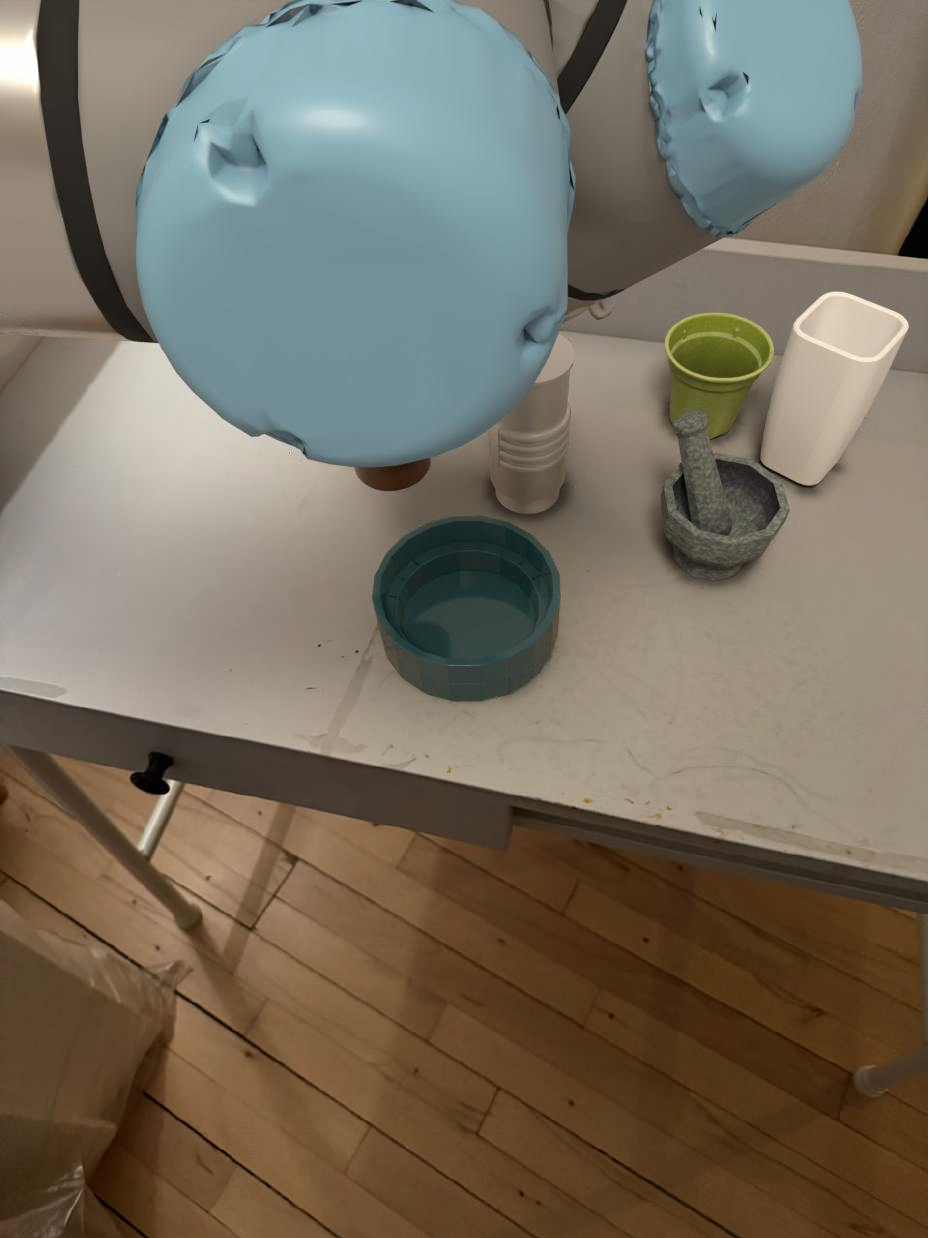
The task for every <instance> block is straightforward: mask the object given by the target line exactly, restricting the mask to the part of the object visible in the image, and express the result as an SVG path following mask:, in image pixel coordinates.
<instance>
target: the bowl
mask: <svg viewBox="0 0 928 1238" xmlns="http://www.w3.org/2000/svg"><path fill="white" fill-rule="evenodd" d="M561 597H562V595H561V575H560V572H559V570H558V567H557V565H556V563H555V561H554V558H553V557H552V555H551V552H550V551H549V550H548V549H547V548H546V546H544V545H543V544H542V543H541V542H540V541H539V539H537V538H536V537H535V536H534V535H533V534H532V533H530V532H529V531H527V530H525V529H523V528H521V527H519V526H517V525H516V524H514V523H512V522H510V521H508V520H503V519H498V518H494V517H490V516H485V515H452V516H448V517H445V518H441V519H437V520H433V521H428V522H426V523H424V524H423V525H420V526H419V527H417V528H416V529H413V530H411V531H409V532H408V533H406V534H404V535H403V536H402V537H401V538H400V539H399V540H397V542H396V543H395V544H394V545H392V546H391V548H389V550H387V552H386V553H385V554H384V556H383V558H382V560H381V562H380V564H379V566H378V567H377V570H376V572H375V574H374V576H373V585H372V594H371V600H372V601H371V602H372V605H373V610H374V614H375V618H376V622H377V627H378V630H379V635H380V639H381V642H382V646H383V649H384V653H385V656H386V658H387V660H388V662H389V663H390V664H391V666H392V667H393V668H394V670H395V671H396V673H397V674H398V675H399V676H400V677H401V679H402V680H404V681H406V682H407V683H408V684H410V685H412V686H413V687H415V688H416V689H418V690H419V691H421V692H422V693H424V694H426V695H429V696H433V697H437V698H439V699H443V700H447V701H450V702H482V701H483V702H484V701H487V700H490V699H493V698H498V697H501V696H504V695H507V694H511V693H513V692H514V691H516V690H517V689H519V688H520V687H522V686H524V685H525V684H526V683H529V682H530V681H531V680H532V679H533V680H534V678H535V676H537V674H538V673H539V672H540V670H541V669H542V668H543V667H544V665H545V664H546V663H547V662H548V661H549V659H550V658H551V656H552V653H553V650H554V647H555V643H556V641H557V638H558V633H559V623H560V611H561Z"/></svg>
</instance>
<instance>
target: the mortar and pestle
mask: <svg viewBox="0 0 928 1238" xmlns="http://www.w3.org/2000/svg"><path fill="white" fill-rule="evenodd" d="M708 424H709V421H708V417H707V415H706V413H705V412H702V411H692V412H687V413H684V414H682V415H679V416H678V417H677V418H676V419H675V420H673V421H672V422H671V426H672V431H673V433H674V435H676V436H677V440H678V448H679V453H680V454H679V455H680V461H681V462H680V463H679V464H678V466H676V468H675V469H674V470H673V472H672V473H671V474H670V475H669V477H668V478H667V479H666V480H665V482H664V483H663V485H662V489H661V493H660V511H661V516H662V522H663V528H664V534H665V537H666V539H667V540H668V542H669V543H670V545H671V546H672V552H673V557H674V562H675V563H676V564H677V565H678V566H680V568H682V569H683V570H684V571H685V572H686V573H687V574H689V576H691V577H695V578H699V579H703V580H708V581H713V582H717V581H720V580H723V579H726V578H730V577H734V576H736V575H737V574H738V573H739V571H740V570H741V568H742V566H743V565H744V564H748V563H751V562H752V561H754V560H756V559H759V558H761V557H762V556H763V554H764V553H765V551H767V549H768V547H769V546H770V545H771V543H772V541H773V540H774V538H775V537H776V535H777V534H778V533H779V531H780V530H781V529H782V527H783V526H784V524H785V522H786V520H787V518H788V516H789V513H790V511H791V509H790V505H789V502H788V499H787V498H788V497H787V494H786V490H785V487H784V484H783V481H782V480H781V479H779V477H777V476H775V475H774V474H773V473H771V472H770V471H769V470H767V469H766V468H765V467H763V466H762V465H761V464H760V463H758V462H757V461H756V460H754V459H750V458H745V457H740V456H735V455H729V454H723V453H720V452H714V450H713V448H712V443H711V439H709V436H708V432H707V426H708Z"/></svg>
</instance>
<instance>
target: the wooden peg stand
mask: <svg viewBox="0 0 928 1238" xmlns="http://www.w3.org/2000/svg"><path fill="white" fill-rule="evenodd" d="M431 463H432V457H430V458H426V459H422V460H418V461H414V462H410V463H405V464H401V465H396V466H384V467H354V472H355V474H356V476H357V478H358V479H359V480H360V482H361V483H362V484H364V485H365V486H367V487H369V488H371V489H373V490H376V491H380V492H398V491H402V490H406V489H409V488H411V487H413V486H415V485H416V484H418V483H420V482H421V481H422V480H423V479H425V477H426V475H427V474H428V473H429V470H430V468H431V465H432V464H431Z"/></svg>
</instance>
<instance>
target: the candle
mask: <svg viewBox="0 0 928 1238" xmlns="http://www.w3.org/2000/svg"><path fill="white" fill-rule="evenodd" d="M574 362H575V350H574V346H573V345H572V344H571V342H570V341H569V339H567V338H566V337H565V336H563V335H562V334H561V333H559V334H558V336H557V339H556V341H555V343H554V346H553V348H552V351H551V353H550V356H549V358H548V360H547V362H546V364H545V366H544V367H543V369H542V371H541V373H540V374H539V376H538V378H537V379H536V381H535V383H534V385H533V386H532V387H531V389H530V390H529V391H528V392H527V394H526V395H525V396H524V397H523V399H522V400H521V401H520V402H519V404H518V405H516V406H515V407H514V408H513V409H512V410H511V411H510V412H509V413H508V414H507V415H506V416H505V417H504V418H503V419H502V420H500V421H499V422H498V423H497V424H495V425H494V426H493V427H491V428H490V429H489V430H488V431H487V433H488V455H489V457H490V458H491V460H490V461H491V462H490V463H491V464H490V473H489V474H490V481H491V483H492V485H493V487H494V488H495V489H494V491H495V497H496V498H497V500H498V502H499V503H500V504H501V505H502V506H503V507H504V508H506V509H508V510H509V511H511V512H513V513H517V514H525V515H531V514H537V513H541V512H544V511H546V510H548V509H550V508H552V506H554V505H555V503H556V502H557V501H558V499H559V497H560V492H561V491H560V490H561V488H562V486H563V485H564V483H565V481H566V474H567V471H566V456H567V455H568V450H569V443H570V441H569V440H570V428H571V415H572V409H571V403H570V402H569V392H570V391H569V390H570V378H571V376H570V375H571V370H572V369H573V366H574V364H575V363H574Z"/></svg>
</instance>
